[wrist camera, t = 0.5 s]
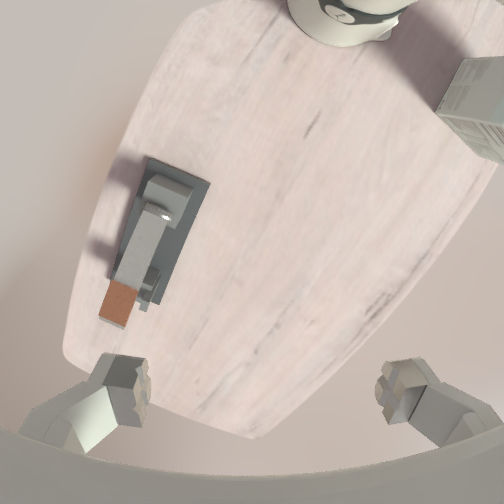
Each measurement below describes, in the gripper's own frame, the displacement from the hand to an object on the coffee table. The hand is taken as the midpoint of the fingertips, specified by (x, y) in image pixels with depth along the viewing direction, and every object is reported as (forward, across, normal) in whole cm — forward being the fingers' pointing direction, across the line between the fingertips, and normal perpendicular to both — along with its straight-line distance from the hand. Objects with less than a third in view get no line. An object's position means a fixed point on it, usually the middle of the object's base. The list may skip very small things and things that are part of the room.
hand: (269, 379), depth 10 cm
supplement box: (+38, -38, -20) cm, 57 cm away
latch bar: (+31, +14, +9) cm, 35 cm away
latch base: (+42, +14, +8) cm, 45 cm away
